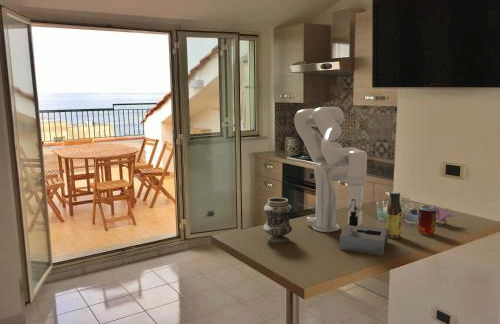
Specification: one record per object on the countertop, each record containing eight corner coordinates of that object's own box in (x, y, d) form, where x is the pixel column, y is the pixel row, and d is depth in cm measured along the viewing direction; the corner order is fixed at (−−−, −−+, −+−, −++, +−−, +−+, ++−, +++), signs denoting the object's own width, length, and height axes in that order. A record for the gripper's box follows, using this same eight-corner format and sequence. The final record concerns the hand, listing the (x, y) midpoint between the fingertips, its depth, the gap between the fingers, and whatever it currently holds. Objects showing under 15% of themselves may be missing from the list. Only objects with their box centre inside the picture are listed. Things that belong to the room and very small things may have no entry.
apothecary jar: (285, 234, 192) (285, 195, 189) (296, 243, 181) (297, 201, 178) (259, 237, 188) (259, 197, 185) (269, 246, 177) (269, 204, 174)
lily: (459, 229, 202) (457, 209, 205) (448, 224, 195) (446, 203, 198) (434, 231, 210) (432, 212, 214) (422, 226, 203) (421, 206, 206)
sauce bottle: (401, 239, 185) (404, 194, 181) (386, 238, 186) (388, 194, 183) (399, 234, 191) (402, 191, 188) (384, 233, 192) (387, 190, 189)
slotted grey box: (339, 249, 174) (340, 235, 173) (347, 236, 188) (347, 223, 187) (383, 255, 167) (384, 240, 166) (387, 242, 182) (388, 228, 181)
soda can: (421, 230, 197) (423, 204, 195) (437, 233, 192) (439, 207, 190) (414, 233, 193) (416, 207, 191) (429, 237, 188) (431, 210, 186)
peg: (346, 243, 178) (348, 212, 176) (349, 239, 183) (350, 209, 180) (359, 245, 176) (360, 213, 174) (361, 241, 181) (362, 210, 179)
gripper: (350, 175, 184) (349, 216, 187) (343, 184, 169) (341, 228, 172) (368, 177, 181) (366, 219, 184) (362, 185, 166) (360, 231, 169)
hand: (354, 223), depth 178 cm, fingers closed on peg, 5 cm apart
